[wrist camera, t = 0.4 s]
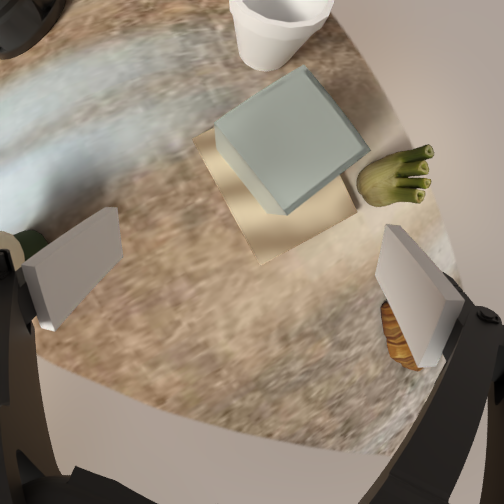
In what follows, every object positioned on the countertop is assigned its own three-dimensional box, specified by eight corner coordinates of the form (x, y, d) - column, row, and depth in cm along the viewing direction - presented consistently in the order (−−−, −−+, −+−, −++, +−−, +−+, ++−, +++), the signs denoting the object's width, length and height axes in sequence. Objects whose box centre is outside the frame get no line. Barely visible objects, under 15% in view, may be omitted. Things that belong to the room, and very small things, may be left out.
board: (193, 141, 34) (192, 138, 33) (292, 94, 34) (294, 91, 33) (258, 264, 36) (260, 265, 35) (353, 212, 37) (357, 212, 36)
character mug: (1, 238, 33) (-62, 251, 20) (28, 203, 33) (-37, 205, 20) (42, 302, 34) (-15, 336, 22) (73, 270, 34) (15, 297, 22)
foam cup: (287, 17, 32) (311, -43, 20) (312, 74, 34) (350, 22, 21) (216, 30, 32) (217, -34, 19) (238, 89, 33) (247, 35, 21)
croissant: (432, 349, 41) (450, 362, 36) (399, 378, 41) (415, 394, 36) (400, 284, 39) (420, 293, 34) (362, 316, 39) (379, 329, 34)
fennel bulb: (372, 153, 36) (428, 136, 24) (396, 182, 37) (456, 176, 25) (344, 184, 36) (395, 176, 24) (369, 213, 37) (426, 217, 25)
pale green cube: (216, 149, 33) (213, 122, 22) (280, 104, 33) (303, 64, 22) (266, 213, 35) (287, 215, 24) (328, 166, 34) (371, 150, 24)
